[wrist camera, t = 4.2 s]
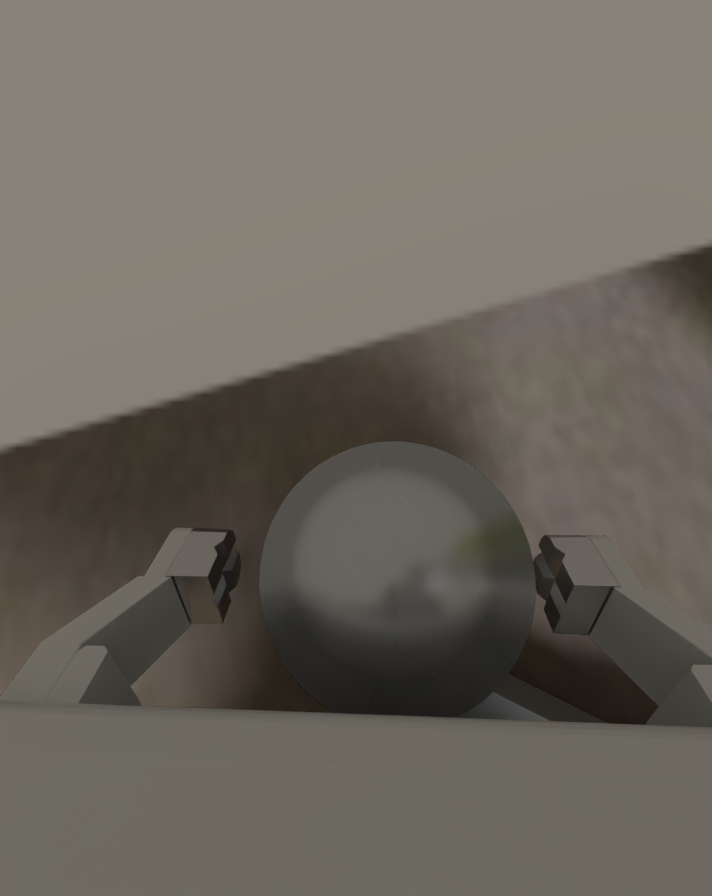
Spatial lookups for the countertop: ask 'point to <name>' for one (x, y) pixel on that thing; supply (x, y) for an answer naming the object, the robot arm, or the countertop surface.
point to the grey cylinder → (397, 582)
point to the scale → (526, 705)
